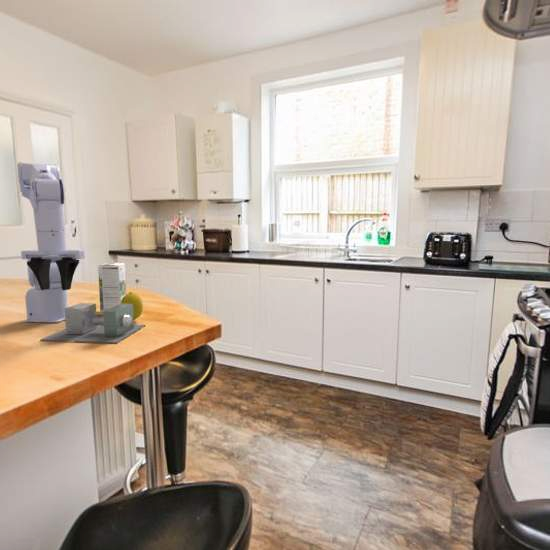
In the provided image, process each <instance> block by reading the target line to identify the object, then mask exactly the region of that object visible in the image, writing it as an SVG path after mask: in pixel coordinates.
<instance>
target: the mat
mask: <svg viewBox="0 0 550 550" xmlns="http://www.w3.org/2000/svg"><path fill="white" fill-rule="evenodd" d="M144 326H145V327H146V325H145V324H134V328H133V329H132V330H130V331H128V332H127V333H125V334H123V335H121V336H120V337H118V338H107V337H105V333H104V326H97V328H95V329H93V330H91V331H89V332H87V333H85V334H67V333H66V328H64V329H61V330H59V331H57V332H55V333H52V334H50V335H48V336H46V337H45V336H44V337H42V338H41V339H40V341H41V342H59V341H74V342H73V343H87V342H94V343H93V344H114V343H117V344H118V342H119V343H121V342H122V341H123V340H125V339H127V338H128V337H130V336H132V335H134V334H135V333H136V331H137V330H138V331H139V329H140V330H142V329H143V328H145V327H144ZM142 327H143V328H142ZM141 328H142V329H141ZM138 331H137V332H138ZM134 332H135V333H134ZM131 334H132V335H131ZM126 337H127V338H126Z"/></svg>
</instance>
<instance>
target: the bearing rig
mask: <svg viewBox="0 0 550 550" xmlns="http://www.w3.org/2000/svg"><path fill="white" fill-rule="evenodd" d="M92 323H93V325H96V326H104V333H105V337H107V338H118V337H120V336H121V335H123V334H125V333H127V332H128V331H130V330H132V329H133V328H134V325H135V320H134V316H133V304H119V305H117V306H114V307H112V308H110V309H107V310H105V311H103V312H102V311H98V310H96V312H95V315H94V316H93V318H92Z"/></svg>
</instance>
